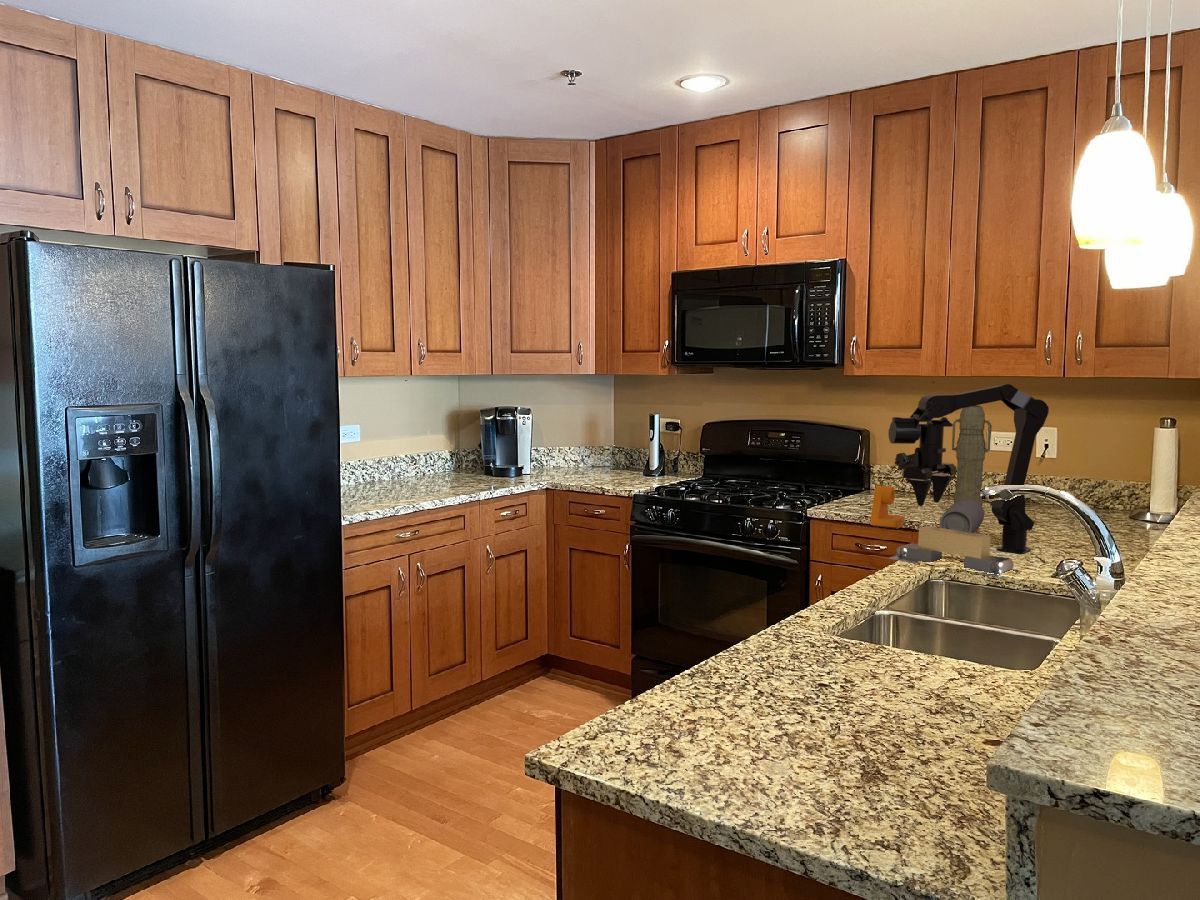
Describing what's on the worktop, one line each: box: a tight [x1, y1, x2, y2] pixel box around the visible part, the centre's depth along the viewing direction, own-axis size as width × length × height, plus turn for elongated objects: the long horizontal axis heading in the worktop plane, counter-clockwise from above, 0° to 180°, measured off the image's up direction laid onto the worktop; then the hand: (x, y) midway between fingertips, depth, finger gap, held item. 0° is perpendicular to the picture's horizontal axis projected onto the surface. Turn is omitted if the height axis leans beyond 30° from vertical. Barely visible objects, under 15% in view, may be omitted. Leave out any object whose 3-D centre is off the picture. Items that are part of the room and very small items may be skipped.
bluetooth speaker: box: [939, 499, 985, 533], centre depth 247 cm, size 23×9×10 cm, turn 149°
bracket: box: [870, 485, 905, 530], centre depth 264 cm, size 11×7×12 cm, turn 147°
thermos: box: [951, 405, 993, 507], centre depth 292 cm, size 9×12×35 cm
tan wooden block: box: [917, 525, 992, 559], centre depth 212 cm, size 4×16×5 cm, turn 39°
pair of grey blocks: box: [888, 543, 1021, 579], centre depth 213 cm, size 10×28×3 cm, turn 45°
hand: (928, 504), depth 229 cm, fingers open, 9 cm apart
